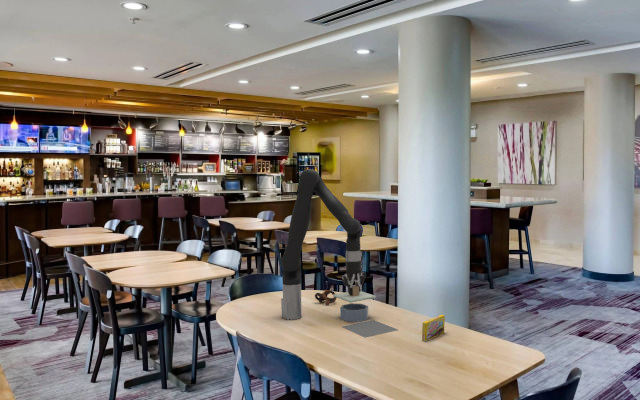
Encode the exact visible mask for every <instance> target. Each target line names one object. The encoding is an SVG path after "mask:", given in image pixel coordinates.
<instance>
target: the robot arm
mask: <svg viewBox="0 0 640 400" xmlns="http://www.w3.org/2000/svg"><path fill="white" fill-rule="evenodd" d="M297 189H298V190H297V195H296V198H295V202H294V206H293V209H292V214H291V219H290V222H289V228H288V236H287V241H286V242H287V243H286V247H285V250H284V253H283V256H282V257H281V266H282V279H281V281H282V283H281V284H282V297H281V299H280V301H281V307H280V308H281V318H282V317H283V318H282V319H284V318H285V320H286V319H287V321H289V319H290V321H291V320H299V319H301V318H302V314H303V313H302V260H301V255H302V253H301V252H302V247H303V243H304V241H305V238H306V235H307V231H308V229H309V227H310V226H309V225H310V221H311V217H312V199H313V194H314V193H315V194H316V195H317V197H319V198H320V200H321V201H322V203H323V205H324V206H325V208H326V209H327V210H328V211H329V212H330V213H331V214H332V216H333V217H335V219H336V220H337V222H339V224H340V226H341V227H342V229H344V231H345V232H346V241H345V269H346V272H345V273H344V275H341V280H342V284H343V285H344V286H345V287H346V288H347V292H348V293H349V295H353V291H352V286H353V284H354V282H355V285H356V286H359V293H360V291H361V286H362V285H364V284H365V279H366V276H367V273H366V272H363V271H362V252H361V234H362V233H361V232H362V230H361V229H362V226H361V221H360V220H359V219H357V218H354V217H352V215H351V214H350V212H349V211H348V210H349V209H348V208H346V206H345V205H344V204H343V203H342V202H341V201H340V200H339V199H338V197H336V196H335V195H334V194H333V192H332V191H331V190H330V189H329V188H328V186H327V185H326V184H325V182H324V181H323V179H322V178H321V175H320V174H319V173H318V171H316V170H315V169H309V168H308V169H305V170H303V171H302V172H301V173H300V175H299V179H298V187H297Z"/></svg>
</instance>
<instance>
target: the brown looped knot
mask: <svg viewBox="0 0 640 400" xmlns="http://www.w3.org/2000/svg"><path fill="white" fill-rule="evenodd" d="M333 294H336V292H335V291H333V290H329V289H328V290H327V289H326V290H324V291H323V292H322V293H320V292H316V293H315V295H314V298H315V300H316V301H318V303H322V302H325V301H326V302H325V306H329V305H331V304H333V303H335V302H336V301H337V298H336V297H329V296H328V295H333Z"/></svg>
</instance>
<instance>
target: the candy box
mask: <svg viewBox="0 0 640 400" xmlns="http://www.w3.org/2000/svg"><path fill="white" fill-rule="evenodd" d="M445 318H446V315H445V314H442V313H441V314H439V315H437V316H434V317H432V318H429V319H427V320H425V321H422V324H421V325H422V329H421V331H422V332H421V342H424V341H425V342H427V340H428V341H430V340H431V338H432V339H433V337H434V338H436V337H438V336H440V335H442V334H444V333H445V322H446V321H445V320H446V319H445ZM439 334H440V335H439ZM437 335H438V336H437ZM435 336H436V337H435ZM429 339H430V340H429Z"/></svg>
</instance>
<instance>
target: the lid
mask: <svg viewBox="0 0 640 400" xmlns="http://www.w3.org/2000/svg"><path fill="white" fill-rule="evenodd" d="M352 291H353V295H349V293H348V291H346V292H340V293H335V294H333V297H332V298H334V297H336V299H339V300H341V301H345V302H347V303H349V304H350V303H356V302H363V301H367V300H373V299H376V298H377V296H376V295H374V294H371V293H367V292H364V291H361V290H360V293H359V286H356V284H354V285H352Z"/></svg>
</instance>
